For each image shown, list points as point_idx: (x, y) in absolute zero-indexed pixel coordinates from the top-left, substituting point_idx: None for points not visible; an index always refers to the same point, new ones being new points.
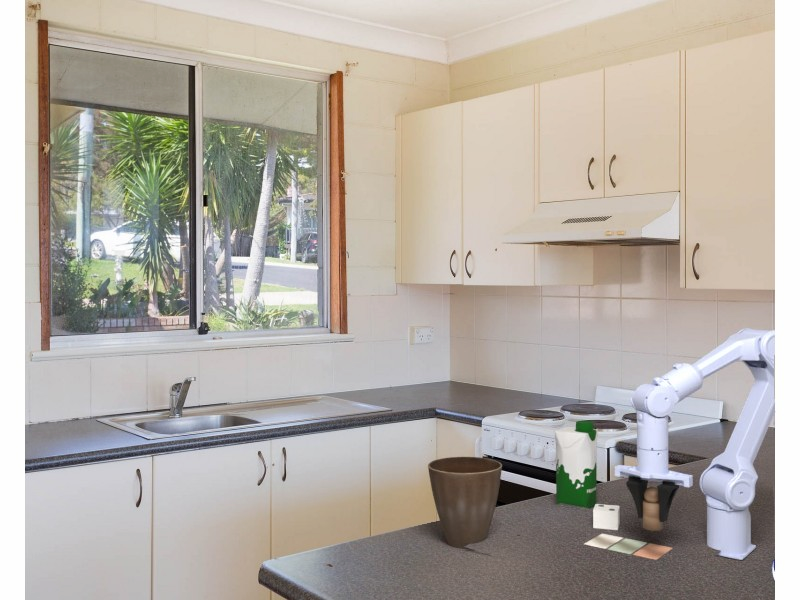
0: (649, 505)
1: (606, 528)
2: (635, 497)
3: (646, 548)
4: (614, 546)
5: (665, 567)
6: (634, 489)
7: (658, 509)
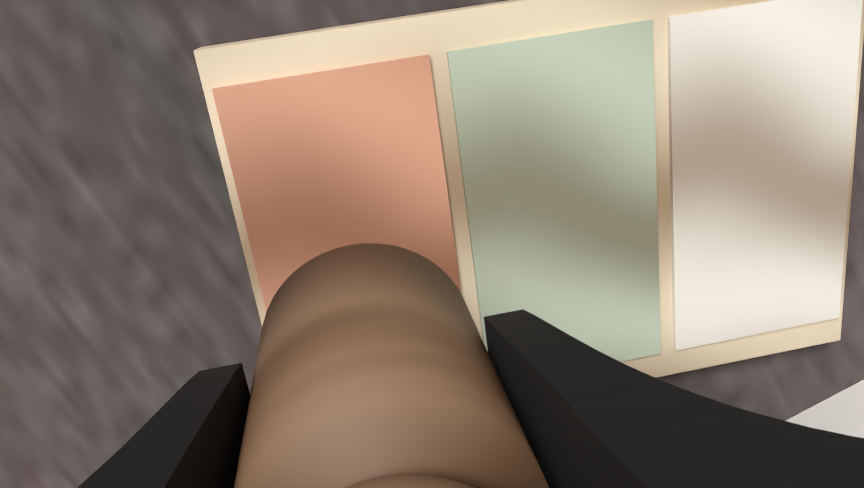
0: (357, 404)
1: (854, 425)
2: (663, 414)
3: None
4: (637, 122)
5: (150, 106)
6: (766, 481)
7: (240, 454)
